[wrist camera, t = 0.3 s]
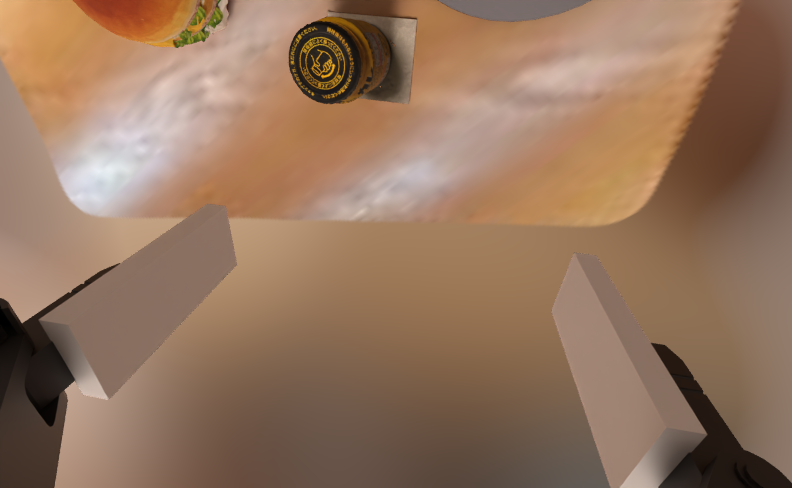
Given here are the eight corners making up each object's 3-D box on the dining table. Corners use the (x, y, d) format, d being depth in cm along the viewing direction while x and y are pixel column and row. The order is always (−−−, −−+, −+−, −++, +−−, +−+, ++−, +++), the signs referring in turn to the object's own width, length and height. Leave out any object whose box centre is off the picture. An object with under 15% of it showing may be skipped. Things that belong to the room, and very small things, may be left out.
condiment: (327, 11, 34) (271, 1, 23) (417, 19, 33) (398, 12, 23) (329, 94, 37) (280, 117, 27) (409, 103, 37) (390, 129, 26)
